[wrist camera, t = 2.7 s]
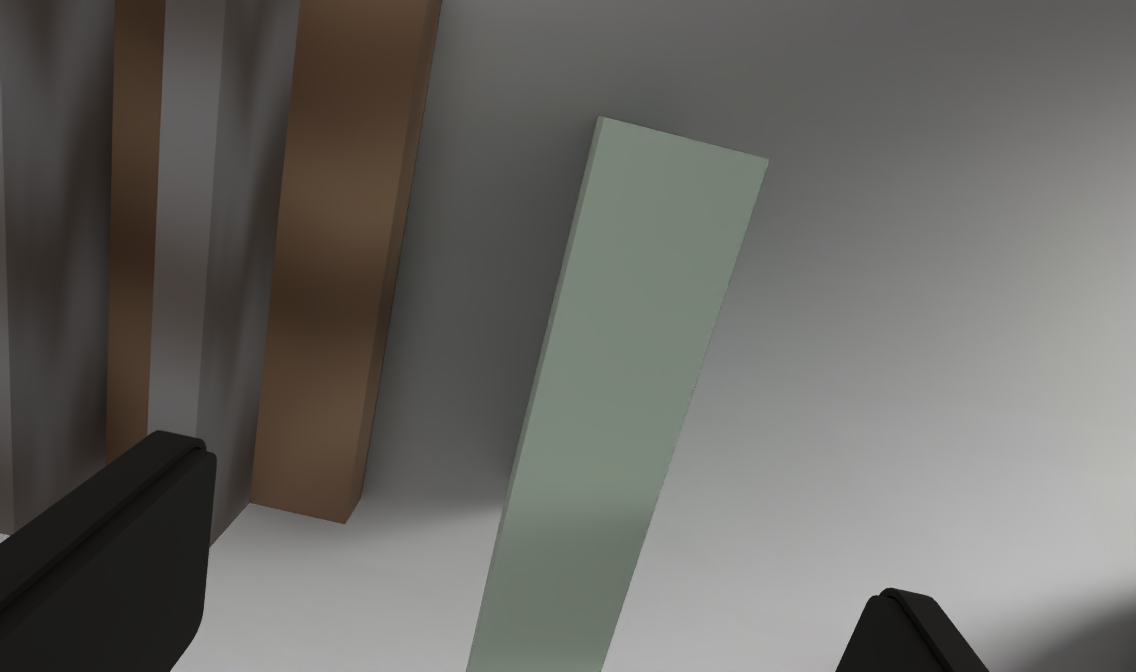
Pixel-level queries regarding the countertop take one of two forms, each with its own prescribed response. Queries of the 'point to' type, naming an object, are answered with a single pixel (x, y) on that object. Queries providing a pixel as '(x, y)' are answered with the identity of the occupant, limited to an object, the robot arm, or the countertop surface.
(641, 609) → the countertop surface
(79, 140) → the track board
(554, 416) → the door panel
